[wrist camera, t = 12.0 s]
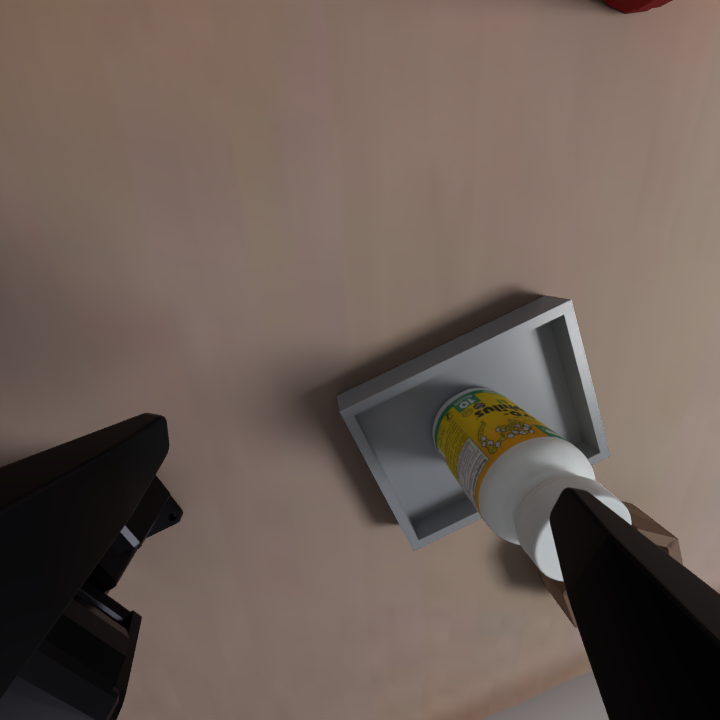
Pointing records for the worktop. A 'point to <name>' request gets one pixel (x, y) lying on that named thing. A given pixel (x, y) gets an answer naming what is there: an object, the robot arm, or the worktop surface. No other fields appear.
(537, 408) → the tray
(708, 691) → the robot arm
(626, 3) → the plastic cup
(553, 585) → the cup holder
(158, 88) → the worktop surface
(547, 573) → the supplement bottle
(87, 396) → the worktop surface
